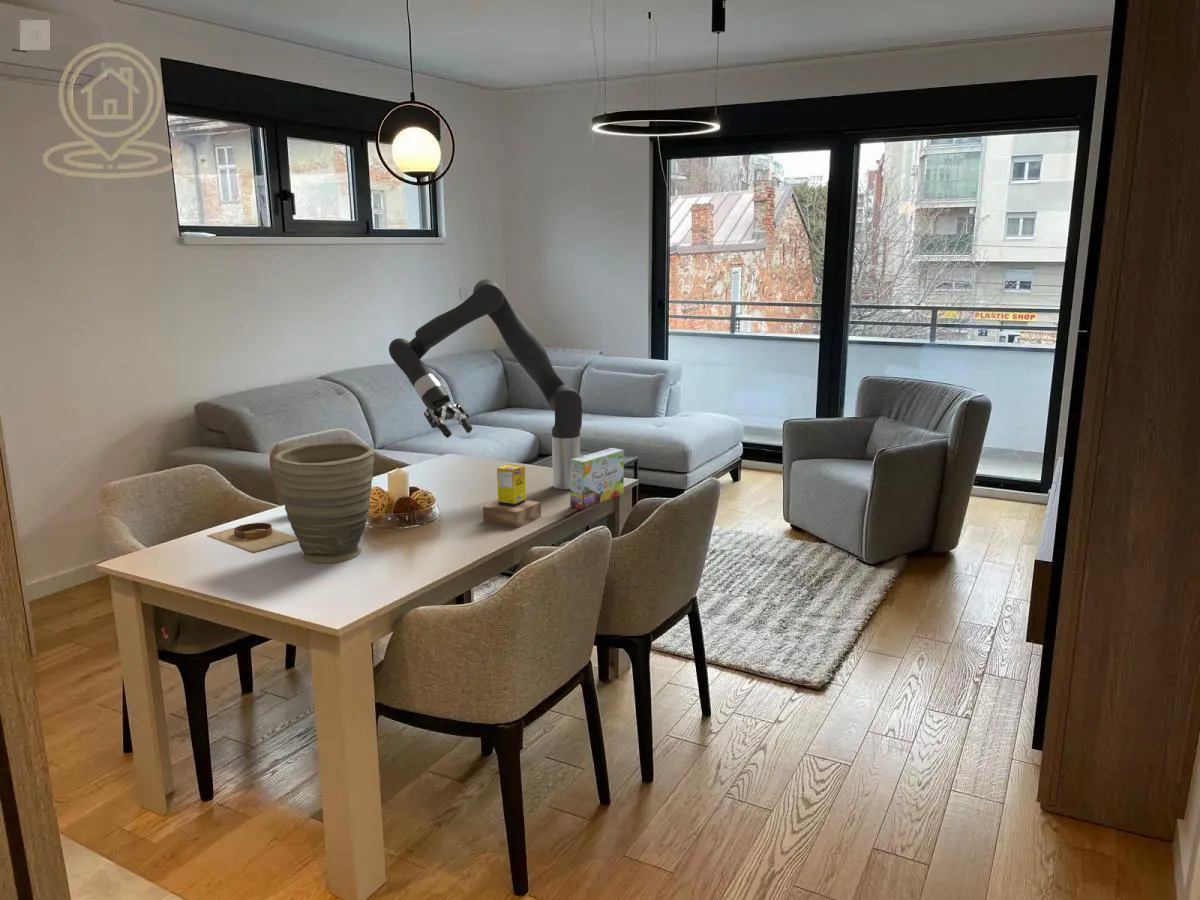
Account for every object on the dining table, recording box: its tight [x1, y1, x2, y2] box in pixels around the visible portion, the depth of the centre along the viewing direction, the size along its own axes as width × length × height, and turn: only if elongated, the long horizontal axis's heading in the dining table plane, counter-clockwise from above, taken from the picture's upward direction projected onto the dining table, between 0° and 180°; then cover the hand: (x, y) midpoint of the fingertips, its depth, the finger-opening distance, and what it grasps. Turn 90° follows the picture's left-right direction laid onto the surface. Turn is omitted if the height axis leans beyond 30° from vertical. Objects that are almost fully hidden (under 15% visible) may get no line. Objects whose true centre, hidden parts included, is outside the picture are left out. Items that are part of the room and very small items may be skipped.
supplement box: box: [496, 463, 527, 506], centre depth 255 cm, size 6×6×11 cm
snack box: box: [569, 447, 625, 510], centre depth 273 cm, size 21×6×15 cm, turn 143°
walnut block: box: [482, 499, 542, 529], centre depth 256 cm, size 12×12×5 cm
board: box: [206, 522, 299, 554], centre depth 242 cm, size 25×15×3 cm, turn 52°
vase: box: [274, 441, 375, 564], centre depth 224 cm, size 24×24×30 cm
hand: (460, 433), depth 263 cm, fingers open, 8 cm apart
